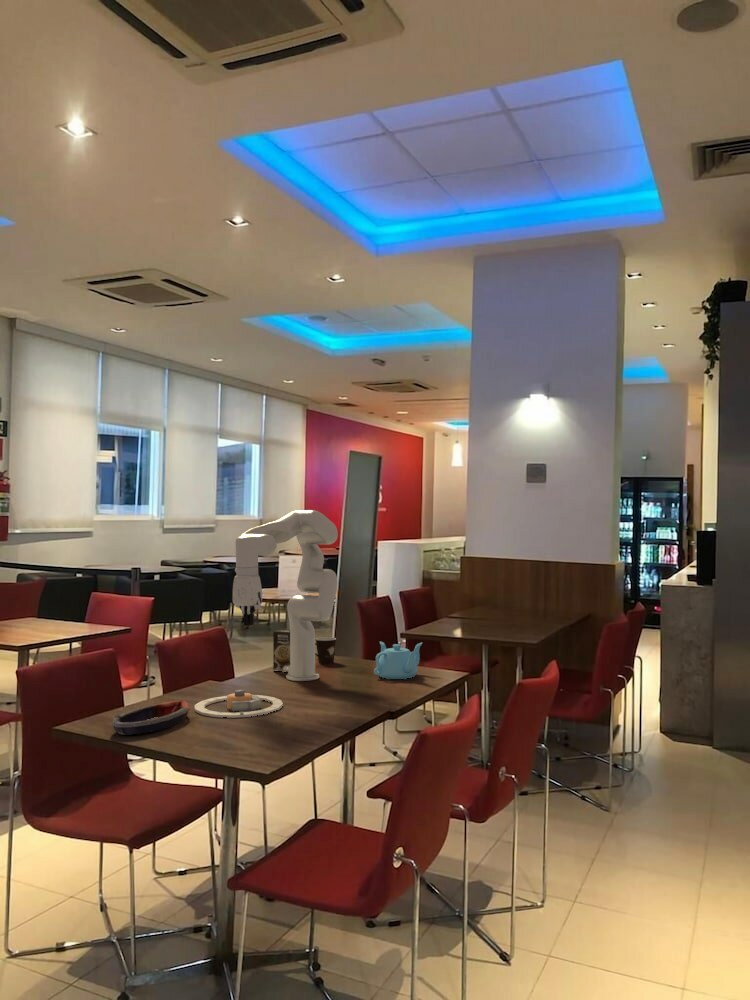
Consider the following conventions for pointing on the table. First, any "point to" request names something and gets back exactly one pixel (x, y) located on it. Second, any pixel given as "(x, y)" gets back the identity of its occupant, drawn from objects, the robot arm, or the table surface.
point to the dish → (138, 721)
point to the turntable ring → (203, 711)
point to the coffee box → (281, 649)
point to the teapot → (397, 662)
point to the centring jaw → (247, 704)
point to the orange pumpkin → (238, 697)
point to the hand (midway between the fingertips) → (248, 625)
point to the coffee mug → (325, 649)
